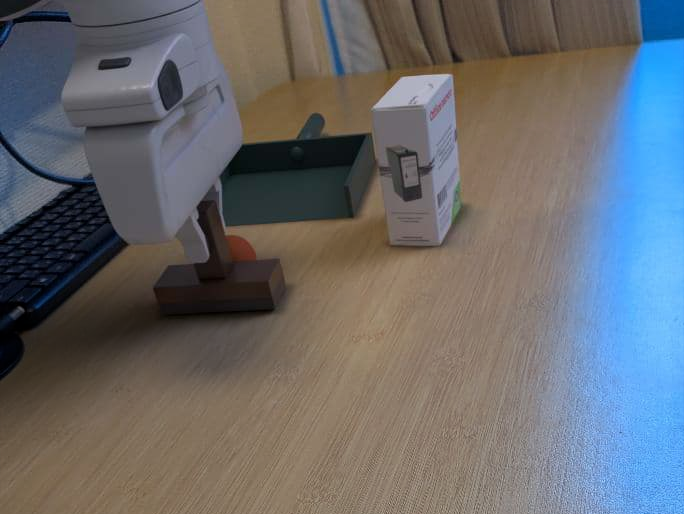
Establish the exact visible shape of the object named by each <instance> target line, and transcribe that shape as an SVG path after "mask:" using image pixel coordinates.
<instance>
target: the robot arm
mask: <svg viewBox="0 0 684 514" xmlns="http://www.w3.org/2000/svg"><path fill="white" fill-rule="evenodd" d="M54 3H58V4H60V5H61V6H63V8H64V9H65V10H66V13H67V14H68V17H69V19H70V21H71V25H72V26H73V30H74V33H75V35H76V36H75V37H76V38H77V41H78V44H77V45H76V46H75V48H74V56H73V61H72V65H71V68H70V71H69V73H68V76H67V79H66V81H65V84H64V85H63V88H62V90H61V95H60V99H61V104H62V108H63V110H64V113H65V116H66V118H67V120H68V122H69V124H70V125H71V126H72V127H74V128H85V129H84V131H83V148H84V149H83V150H84V154H85V158H86V162H87V165H88V167H89V170H90V174H91V176H92V179H93V181H94V184H95V187H96V190H97V192H98V194H99V198H100V199H101V202H102V204H103V207H104V210H105V212H106V214H107V216H108V219H109V221H110V223H111V225H112V227H113V229H114V231H115V232H116V234H117V235H118V236H119V237H121V239H122V240H123V241H124V242H125V243H127V244H128V245H131V246H141V245H142V246H143V245H158V244H166V243H170V242H171V241H173V240H174V238H176V239H177V240H178V241H179V243H181V246H182V250H183V253H184V256H185V257H186V261H188V262H189V263H190V264H194V263H205V262H206V261H207V260H208V259H209V257H210V255H211V254H212V251H213V249H212V246H211V242H210V238H209V235H208V233H203V232H202V230H201V228H200V226H199V224H198V222H197V219H198V218H199V215H198V211H197V208H196V207H197V205H198V204H199V203H200V201H208V200H215V201H216V204H217V208H218V211H219V215H220V219H221V222H222V226H223V229H224V233H225V234H226V233H227V226H225V222H224V218H223V214H222V185H221V181H220V178H219V176H220V174H221V173H222V172H223V170H224V169H225V168H226V166H227V165H228V164H229V162H230V161H231V160H232V158H233V157H234V156H235V154H236V153H237V152H238V150H239V149H240V148H241V146H242V144H244V143H243V142H244V136H243V132H244V131H243V125H242V120H241V117H240V114H239V110H238V106H237V102H236V99H235V96H234V93H233V89H232V86H231V83H230V78H229V77H228V74H227V70H226V68H225V66H224V63H223V61H222V59H221V58H220V56H219V54H217V51H216V47H215V43H214V38H213V35H212V31H211V27H210V22H209V19H208V16H207V15H208V14H207V11H206V7H205V6H206V5H205V2H204V0H0V22H5V21H11V20H14V19H17V18H21V17H22V16H24V15H27V14H29V13H31V12H32V11H35V10H39V9H42V8H45V7H49V6H50V5H51V4H54Z"/></svg>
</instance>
